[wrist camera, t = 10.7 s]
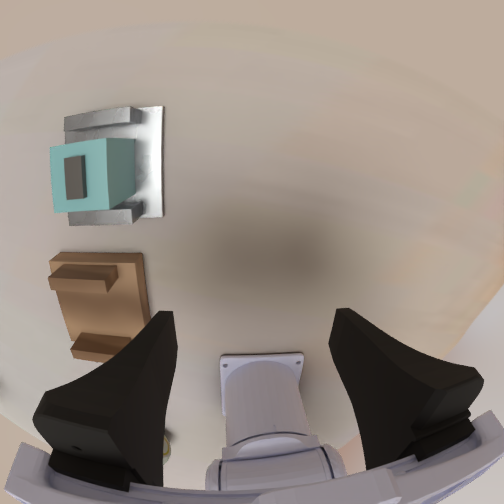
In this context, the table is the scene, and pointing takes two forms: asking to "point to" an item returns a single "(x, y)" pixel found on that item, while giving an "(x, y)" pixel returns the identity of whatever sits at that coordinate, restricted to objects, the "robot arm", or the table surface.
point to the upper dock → (100, 300)
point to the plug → (92, 174)
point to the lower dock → (145, 157)
